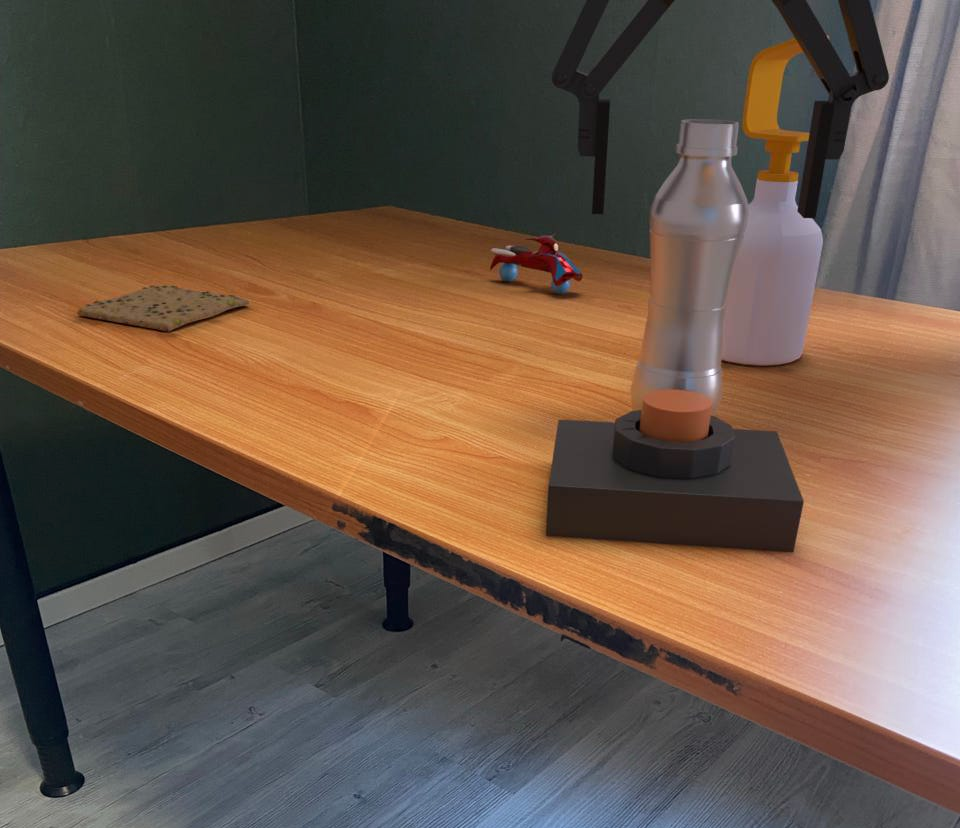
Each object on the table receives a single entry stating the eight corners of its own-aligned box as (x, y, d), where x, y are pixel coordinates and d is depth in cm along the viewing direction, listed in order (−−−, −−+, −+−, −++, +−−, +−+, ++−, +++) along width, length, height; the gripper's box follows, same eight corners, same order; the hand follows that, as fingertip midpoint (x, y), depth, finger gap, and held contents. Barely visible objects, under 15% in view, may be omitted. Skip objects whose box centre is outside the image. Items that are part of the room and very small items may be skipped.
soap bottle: (760, 373, 84) (816, 36, 71) (678, 349, 90) (716, 33, 77) (822, 355, 89) (884, 36, 76) (740, 333, 95) (785, 34, 82)
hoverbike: (561, 301, 105) (564, 245, 102) (481, 282, 112) (482, 229, 109) (592, 293, 108) (596, 239, 105) (512, 275, 115) (514, 224, 112)
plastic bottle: (685, 408, 76) (723, 116, 66) (735, 438, 71) (785, 125, 61) (611, 417, 74) (637, 117, 64) (656, 449, 69) (693, 127, 59)
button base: (769, 477, 65) (782, 403, 62) (793, 553, 56) (810, 469, 53) (555, 465, 66) (560, 391, 64) (545, 536, 57) (550, 454, 55)
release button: (705, 424, 60) (709, 390, 59) (710, 447, 57) (715, 413, 56) (638, 420, 61) (642, 387, 59) (639, 444, 57) (643, 409, 56)
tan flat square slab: (74, 315, 97) (72, 304, 96) (162, 290, 106) (161, 281, 106) (168, 331, 92) (166, 321, 92) (251, 304, 101) (250, 295, 101)
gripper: (514, -212, 53) (508, 218, 64) (1006, -223, 50) (910, 226, 61) (525, -187, 59) (518, 200, 70) (963, -196, 56) (882, 207, 68)
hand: (700, 213), depth 66 cm, fingers open, 13 cm apart
